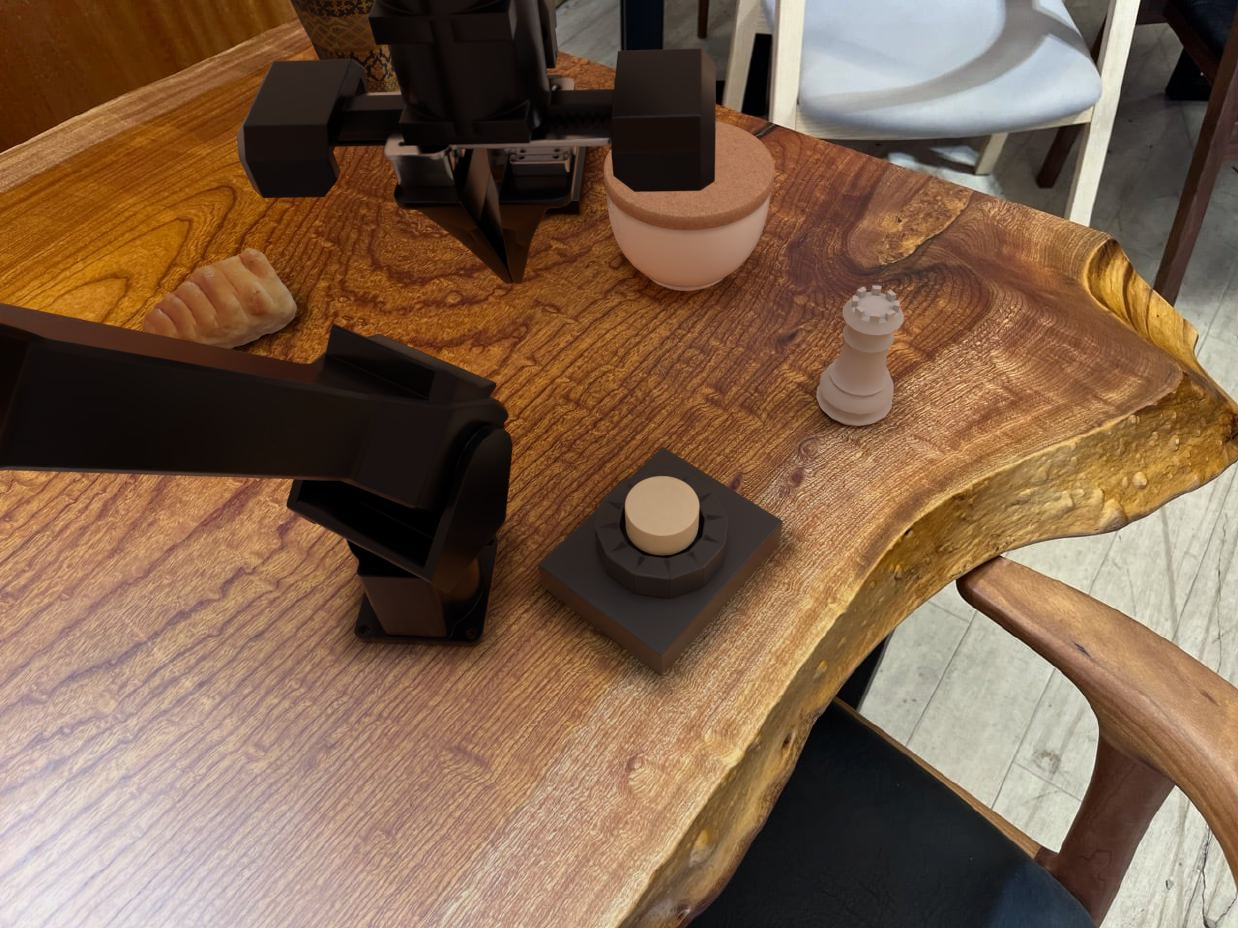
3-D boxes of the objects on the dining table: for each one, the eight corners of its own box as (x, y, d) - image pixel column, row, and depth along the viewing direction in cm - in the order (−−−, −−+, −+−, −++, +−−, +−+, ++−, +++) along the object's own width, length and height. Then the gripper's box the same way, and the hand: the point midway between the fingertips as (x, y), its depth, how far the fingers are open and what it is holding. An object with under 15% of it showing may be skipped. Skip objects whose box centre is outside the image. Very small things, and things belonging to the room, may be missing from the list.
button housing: (661, 677, 47) (661, 637, 44) (541, 587, 50) (533, 544, 47) (779, 544, 51) (786, 499, 48) (662, 470, 55) (662, 424, 52)
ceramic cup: (460, 82, 82) (439, -39, 74) (370, 134, 77) (337, 11, 70) (362, 37, 88) (333, -81, 80) (272, 83, 83) (232, -37, 75)
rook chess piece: (801, 388, 58) (818, 286, 52) (866, 367, 59) (890, 265, 53) (839, 440, 56) (861, 339, 49) (905, 417, 57) (936, 315, 50)
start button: (667, 568, 46) (667, 548, 45) (610, 530, 48) (609, 509, 46) (712, 521, 48) (714, 500, 46) (656, 485, 49) (656, 464, 48)
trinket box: (648, 334, 62) (647, 213, 54) (584, 240, 68) (575, 120, 61) (794, 285, 64) (811, 163, 57) (718, 199, 70) (725, 78, 63)
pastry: (174, 386, 60) (149, 342, 57) (134, 331, 64) (108, 286, 61) (309, 319, 64) (292, 274, 61) (264, 270, 67) (246, 225, 64)
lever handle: (519, 188, 59) (516, 134, 57) (467, 187, 59) (462, 133, 57) (551, 132, 71) (549, 86, 70) (508, 132, 71) (505, 86, 70)
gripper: (718, -173, 37) (713, 166, 49) (249, -149, 38) (360, 173, 51) (718, -21, 30) (712, 324, 43) (155, -1, 32) (309, 326, 45)
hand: (515, 277), depth 46 cm, fingers closed
